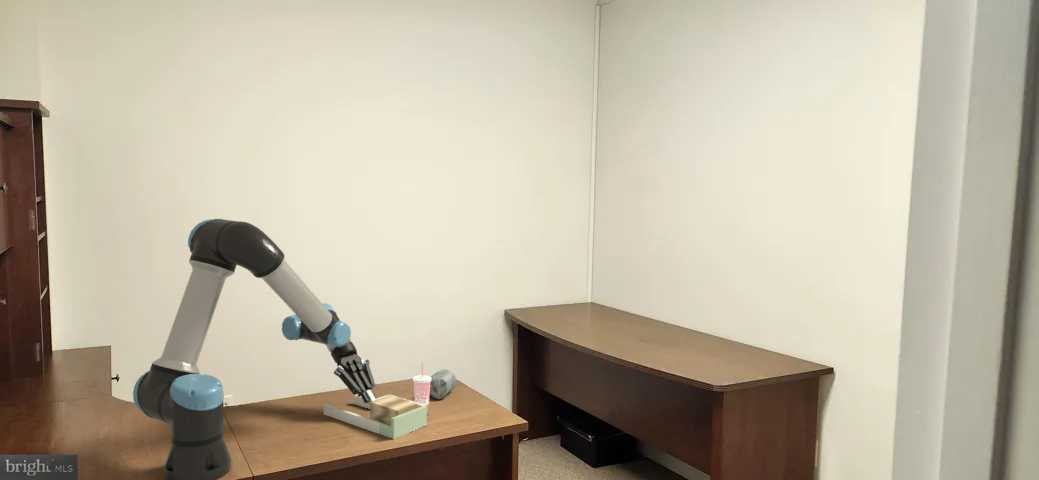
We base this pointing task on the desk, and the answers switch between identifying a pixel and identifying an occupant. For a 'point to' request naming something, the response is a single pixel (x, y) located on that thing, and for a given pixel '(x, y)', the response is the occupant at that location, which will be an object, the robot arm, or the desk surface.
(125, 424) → the desk surface
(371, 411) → the maple block
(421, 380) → the beverage cup
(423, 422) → the tray
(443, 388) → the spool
